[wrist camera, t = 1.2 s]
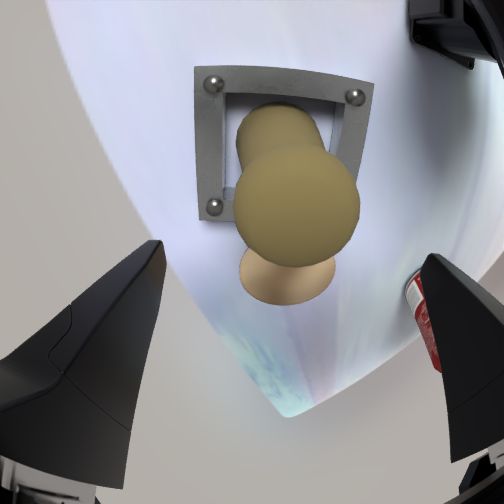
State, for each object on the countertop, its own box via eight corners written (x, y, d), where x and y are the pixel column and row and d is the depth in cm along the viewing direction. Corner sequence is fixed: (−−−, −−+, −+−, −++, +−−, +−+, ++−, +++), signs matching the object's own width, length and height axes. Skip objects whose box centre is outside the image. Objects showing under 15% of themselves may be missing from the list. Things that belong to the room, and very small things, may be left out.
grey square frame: (363, 80, 15) (376, 84, 13) (338, 213, 22) (346, 229, 20) (200, 66, 15) (192, 66, 13) (203, 206, 22) (198, 223, 20)
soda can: (394, 300, 29) (426, 389, 20) (416, 256, 25) (466, 352, 15) (435, 297, 29) (470, 376, 20) (458, 257, 25) (507, 339, 15)
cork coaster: (344, 233, 23) (345, 237, 23) (322, 302, 29) (323, 305, 28) (240, 228, 23) (240, 232, 22) (239, 300, 29) (238, 304, 28)
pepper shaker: (327, 169, 19) (382, 269, 11) (251, 189, 21) (249, 301, 12) (309, 93, 16) (374, 131, 7) (223, 116, 17) (190, 180, 8)
